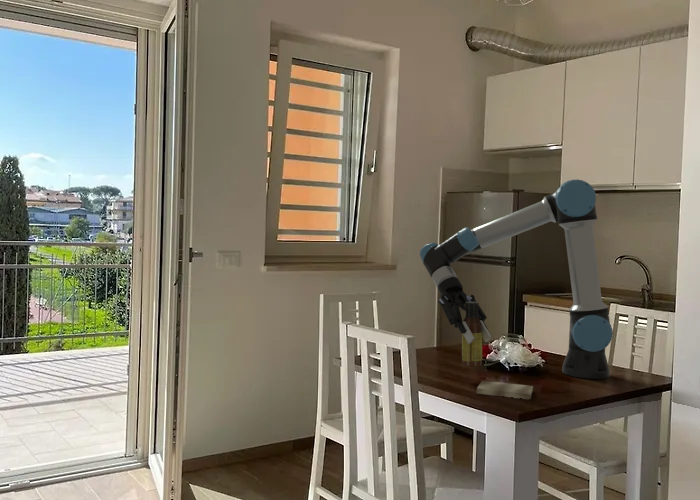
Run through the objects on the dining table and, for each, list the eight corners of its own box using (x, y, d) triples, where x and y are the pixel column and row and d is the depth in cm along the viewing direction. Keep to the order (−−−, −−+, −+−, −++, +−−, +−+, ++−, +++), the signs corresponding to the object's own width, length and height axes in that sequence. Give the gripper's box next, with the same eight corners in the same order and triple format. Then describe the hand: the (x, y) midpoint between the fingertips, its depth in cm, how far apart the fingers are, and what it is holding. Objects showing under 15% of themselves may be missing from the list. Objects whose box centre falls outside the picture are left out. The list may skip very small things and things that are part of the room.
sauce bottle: (483, 364, 210) (485, 301, 210) (480, 368, 204) (482, 303, 204) (462, 362, 212) (464, 300, 212) (459, 366, 206) (461, 302, 206)
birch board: (532, 391, 197) (533, 386, 197) (530, 399, 187) (530, 394, 187) (481, 385, 202) (482, 380, 202) (476, 393, 192) (476, 388, 192)
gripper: (464, 289, 226) (496, 345, 212) (419, 291, 216) (450, 349, 202) (475, 275, 221) (509, 331, 207) (429, 276, 211) (461, 334, 198)
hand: (479, 340), depth 205 cm, fingers closed on sauce bottle, 6 cm apart
